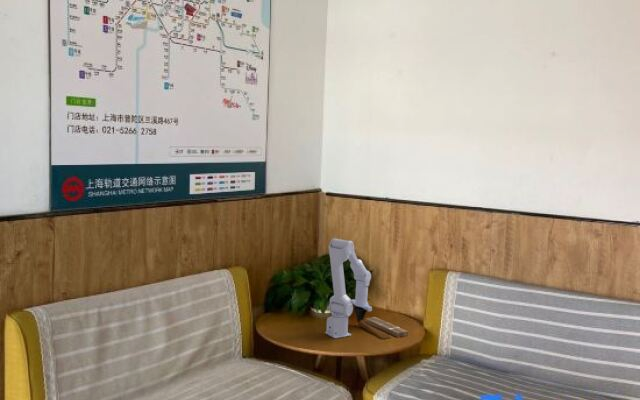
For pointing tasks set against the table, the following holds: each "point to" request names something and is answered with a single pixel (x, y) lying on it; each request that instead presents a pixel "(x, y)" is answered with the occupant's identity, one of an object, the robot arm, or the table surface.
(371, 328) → the primitive tool
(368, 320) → the walnut plank
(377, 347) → the table surface
